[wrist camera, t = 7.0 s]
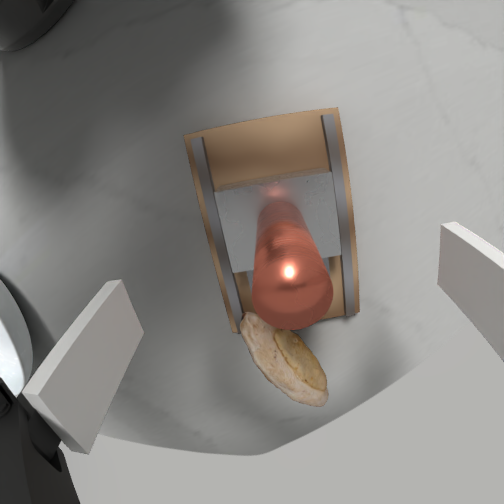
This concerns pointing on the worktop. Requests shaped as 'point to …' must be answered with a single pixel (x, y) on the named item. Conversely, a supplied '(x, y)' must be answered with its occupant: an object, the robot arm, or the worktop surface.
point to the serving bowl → (14, 344)
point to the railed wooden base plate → (269, 164)
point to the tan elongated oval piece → (285, 360)
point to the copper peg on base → (283, 243)
